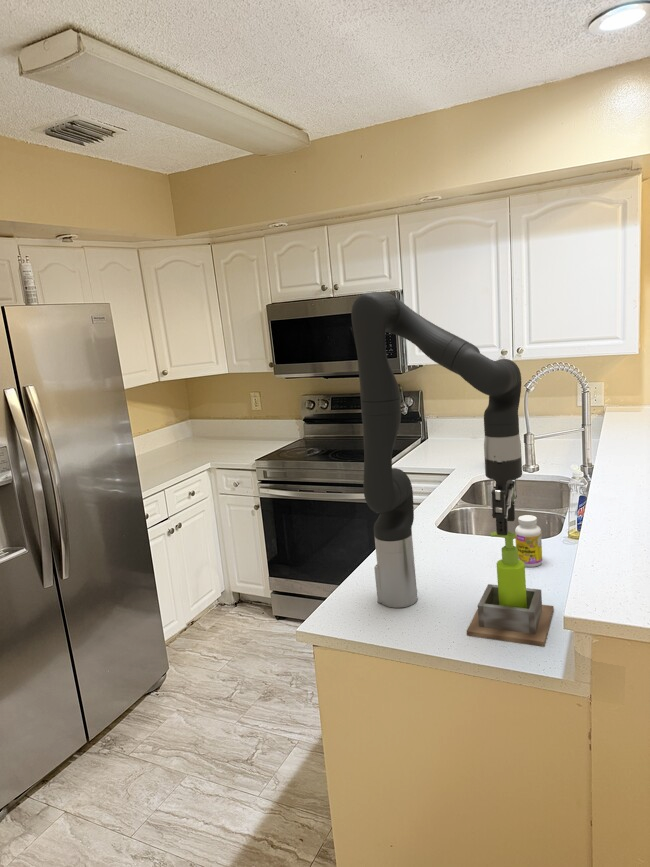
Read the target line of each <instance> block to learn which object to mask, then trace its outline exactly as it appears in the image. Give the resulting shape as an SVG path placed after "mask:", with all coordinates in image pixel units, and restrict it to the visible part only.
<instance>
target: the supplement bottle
mask: <svg viewBox="0 0 650 867" xmlns="http://www.w3.org/2000/svg"><path fill="white" fill-rule="evenodd" d="M517 520H518V524H519V525H517V526H516V527H515V530H514V533H515V534H517V537H515V538H514V539H515V547H517V548H518V559H519V560H521V561H523V562H524V563H525V568H526V567H527V568H534V567H538V566H540V565H542V562H543V546H542V544H543V543H542V529H541V527H540V526H539V525H537V523H538V518H537V517H536V516H534V515H531V514H530V515H529V514H525V515H520V516H519V517H518V519H517Z"/></svg>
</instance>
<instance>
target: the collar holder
mask: <svg viewBox="0 0 650 867" xmlns="http://www.w3.org/2000/svg"><path fill="white" fill-rule="evenodd" d="M526 597H527V609H525V608H517V607H509V606H500V605H499V594H498V584H492V583H488V584H487V585H486V588H485V590H484V592H483V593H482V596H481V597H480V600H479V602H478V604H477V609H476V611H475V613H474V615H473V617H472V619H471V621H470V623H469V625H468V627H467V629H466V636H467V637H468V636H469V637H476V638H483V639H489V640H490V639H491V640H497V641H504V642H511V643H518V644H524V645H525V644H526V645H531V646H538V647H545V646H546V645H545V644H546V641H547V638H548V634H549V630H550V627H551V623H552V618H553V613H554V610H555V608H554V605H550V604H549V605H548V604H543V602H542V601H543V600H542V598H543V597H542V589H538V588H529V587H526Z"/></svg>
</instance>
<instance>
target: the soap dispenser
mask: <svg viewBox="0 0 650 867" xmlns="http://www.w3.org/2000/svg"><path fill="white" fill-rule="evenodd" d="M489 536H490V537H491V538H492V537H498V538H500V537H501V538H503V539H504V546H502V547H501V559H500V560H497V562H496V577H497V585H498V594H499V605H500V606H509V607H517V608H525V609H527V597H526V588H527V585H526V584H527V583H526V582H527V581H526V567H525V563H524V562H523V561H521V560H519V559H518V548H517V547H516V545H514V539H516V538H515V537H517V534H515V532H509V531H508V534H507V535H506V536H505V535H498V534H497V530H496V531H492V532H491V533H490V534H489Z"/></svg>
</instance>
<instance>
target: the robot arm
mask: <svg viewBox="0 0 650 867" xmlns="http://www.w3.org/2000/svg"><path fill="white" fill-rule="evenodd" d="M350 314H351V317H350V318H351V325H352V326H351V327H352V332H353V337H354V343H355V347H356V348H355V349H356V355H357V364H358V366H357V367H358V378H359V386H360V387H359V388H360V392H359V393H360V396H359V397H360V409H361V421H362V434H363V453H364V454H363V455H364V458H363V481H362V482H363V495H364V496H363V497H364V500H365V502H366V505H367V506H368V508H369V509H370V510H371V511H373V512H374V513H376V514H379V515H378V517H377V519H376V521H375V522H374V525H373V537H374V544H375V554H376V555H375V556H376V564H375V566H374V577H375V578H374V579H375V589H376V596H377V597H376V598H377V603H379V604H383V605H384V606H385V607H389V608H397V609H398V608H406V607H411V606H412V605H414V604H415V603H416V602H417V601H418V589H417V587H418V586H417V577H416V575H417V574H416V567H415V566H416V565H415V554H414V542H413V541H414V540H413V531H412V530H413V528H412V527H413V524H414V520H415V517H414V516H415V514H414V513H415V510H414V491H413V485H412V482H411V480H410V477H409V476H408V475H407V473H406V472H405V471H404V470H403V469H402V470H401V469H400V468H396V467H393V451H394V449H395V448H394V447H395V444H396V440H397V437H398V433H399V429H400V427H401V426H400V425H401V420H402V406H401V405H402V404H401V402H402V401H401V392H400V391H401V390H400V387H399V383H398V381H397V378H396V376H395V374H394V372H393V369H392V368H391V365H390V363H389V360H388V356H387V355H388V354H387V347H386V333H389V334H392V335H395V336H398V337H400V338H403V339H406V341H408V342H410V343H412V344H413V345H414V346H415V347H417V349H419V350H420V351H421V352H422V353H423V354H425V356H426V357H428V358H429V359H430V360H431V361H433V362H434V363H436V364H437V365H439V366H442V367H443V368H445V369H447V370H448V371H450V372H452V373H454V374H456V375H459V376H460V377H461V378H462V379H463V380H464V381H465V382H466V383H468V384H469V385H470V386H472V388H474V389H475V390H476V391H478V392H480V393H482V394H484V395H486V396H488V405H487V407H486V409H485V410H484V412H483V427H484V428H483V429H484V430H483V431H484V441H483V451H484V452H483V454H484V455H483V456H484V470H485V471H484V472H485V477H486V478H487V479H489V480H493V481H495V486H493V488H492V490H491V494H490V495H491V507H492V508H491V509H492V512H491V516H492V519H495V527H496V528H495V529H496V531H497V534H498V535H505V536H506V535H507V534H508V532H509V529H508V528H509V527H508V526H509V525H508V522H514V521H515V520H516V511H515V510H516V508H515V504H516V503H517V498H518V495H517V479H520V478H521V477H522V475H523V463H522V462H523V461H522V443H521V442H522V441H521V436H520V419H519V408H520V401H521V393H522V373H521V370H520V368H519V365H517V363H516V362H514V361H513V360H511V359H508V358H501V359H500V358H499V359H497V360H493V359H491V358H489V357H487V356H486V355H484V354H482V353H481V351H480V349H479V348H478V346H476V345H474V344H473V343H471V342H469V341H467V340H465V339H463V338H461V337H460V336H458V335H455V334H454V333H451V332H450V331H448V330H446V329H444V328H442V327H440V326H438V325H437V324H435V323H433V322H431V321H430V320H428V319H426V318H425V317H424V316H422V315H420V314H418V313H417V312H415V310H413V309H412V308H410V307H409V306H408V305H407V304H405V303H404V302H402V301H401V300H400V299H399V298H397V297H396V296H394V294H391V293H389V292H385V291H375V292H365V293H362V294H360V295H358V296H357V297H356V298H355V300H354V302H353V304H352V307H351V313H350ZM499 509H501V512H499Z"/></svg>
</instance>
